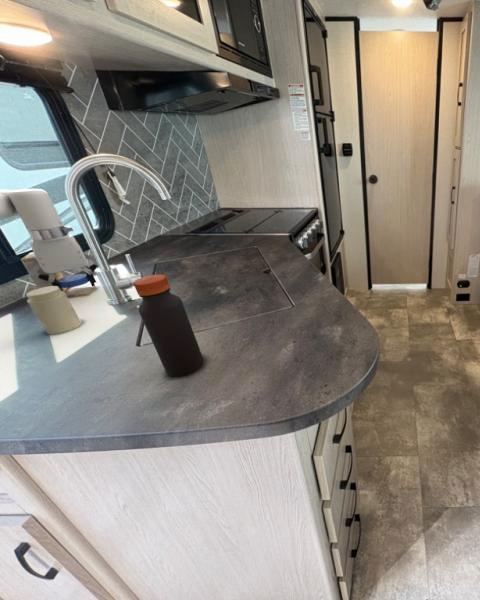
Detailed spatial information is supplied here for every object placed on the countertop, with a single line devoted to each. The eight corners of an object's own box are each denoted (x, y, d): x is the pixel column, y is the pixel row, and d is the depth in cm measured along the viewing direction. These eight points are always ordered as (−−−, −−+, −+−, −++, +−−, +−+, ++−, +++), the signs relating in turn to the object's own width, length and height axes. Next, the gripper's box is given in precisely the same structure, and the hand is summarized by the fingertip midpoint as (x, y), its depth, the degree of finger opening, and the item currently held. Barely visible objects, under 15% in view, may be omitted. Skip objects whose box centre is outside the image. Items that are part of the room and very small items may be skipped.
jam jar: (39, 336, 78) (15, 298, 73) (57, 323, 83) (35, 287, 79) (72, 331, 79) (50, 294, 75) (87, 319, 85) (67, 283, 80)
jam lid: (75, 287, 96) (72, 282, 95) (53, 288, 96) (50, 282, 95) (95, 279, 102) (92, 273, 101) (74, 279, 102) (71, 273, 101)
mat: (63, 298, 97) (62, 296, 97) (75, 290, 103) (74, 288, 102) (86, 295, 99) (85, 293, 99) (97, 287, 104) (96, 286, 104)
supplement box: (64, 295, 99) (42, 255, 93) (43, 299, 97) (19, 259, 91) (70, 286, 105) (49, 249, 99) (50, 290, 103) (28, 252, 97)
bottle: (205, 369, 65) (171, 281, 56) (166, 382, 62) (123, 290, 53) (203, 353, 70) (172, 269, 61) (167, 364, 67) (128, 277, 58)
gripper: (87, 226, 100) (111, 278, 108) (5, 237, 89) (39, 294, 97) (89, 230, 95) (114, 283, 103) (3, 242, 84) (39, 301, 92)
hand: (77, 288), depth 100 cm, fingers closed on jam lid, 6 cm apart
